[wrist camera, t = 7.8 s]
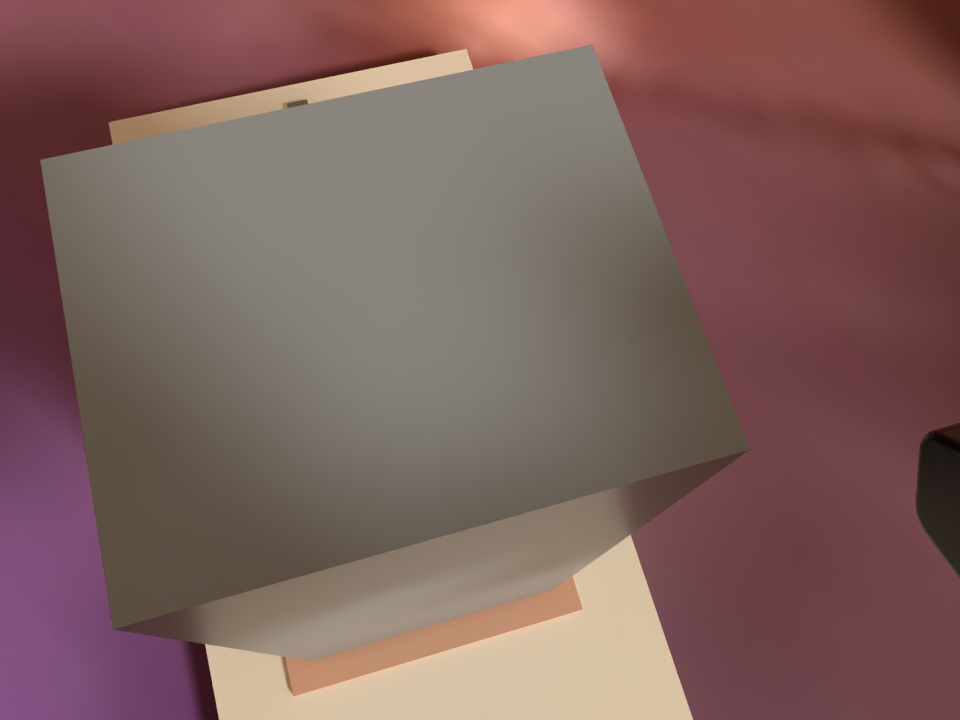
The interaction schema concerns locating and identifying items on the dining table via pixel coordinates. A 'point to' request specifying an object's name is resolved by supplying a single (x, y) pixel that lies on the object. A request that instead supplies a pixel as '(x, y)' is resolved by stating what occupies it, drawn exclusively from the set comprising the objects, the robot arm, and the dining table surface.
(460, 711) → the pad
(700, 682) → the dining table surface
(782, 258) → the dining table surface
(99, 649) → the dining table surface
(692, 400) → the stub
